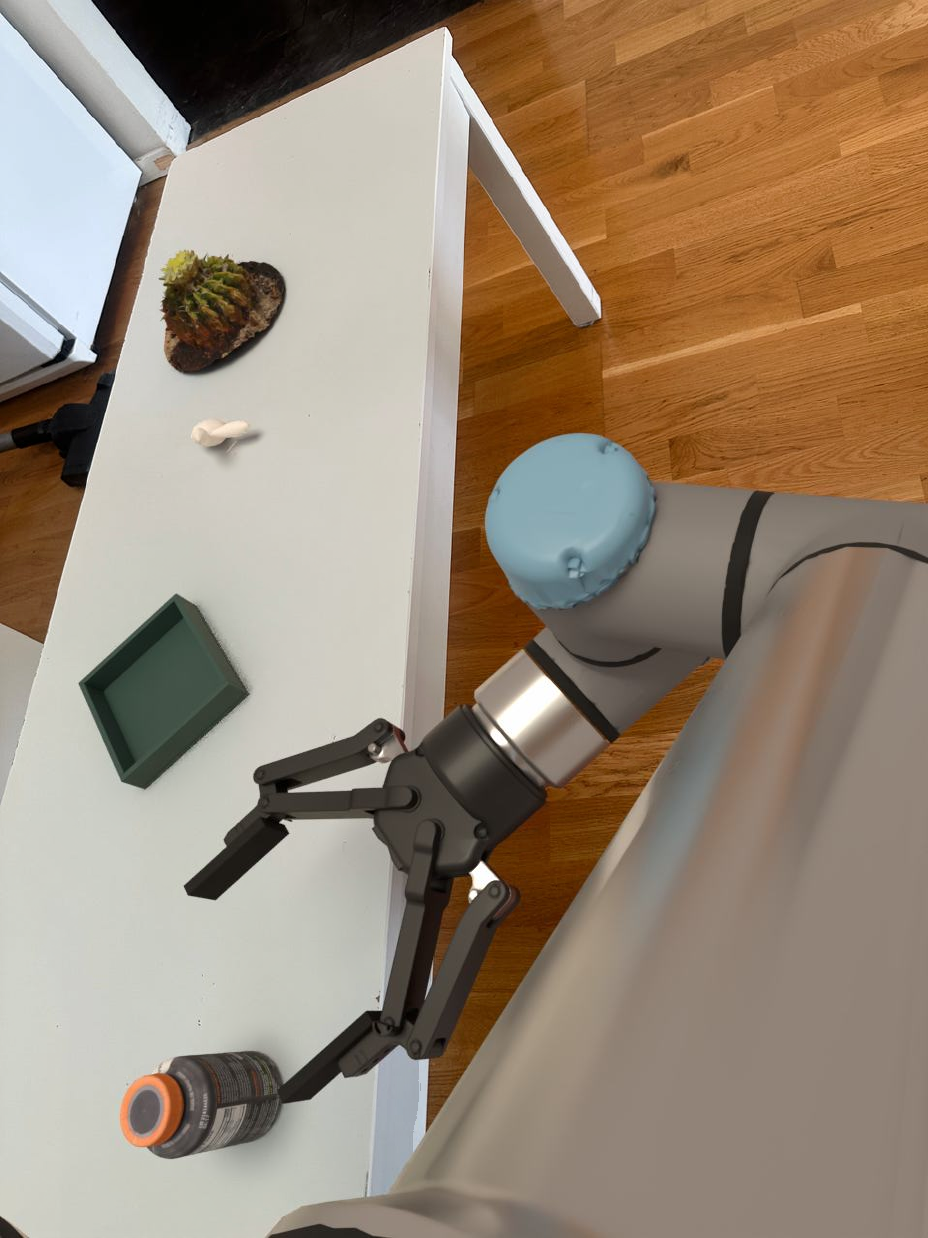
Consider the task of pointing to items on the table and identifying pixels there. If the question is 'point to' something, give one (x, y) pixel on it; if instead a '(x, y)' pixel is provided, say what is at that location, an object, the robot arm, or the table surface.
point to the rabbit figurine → (217, 431)
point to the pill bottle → (202, 1103)
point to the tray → (161, 691)
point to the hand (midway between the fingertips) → (242, 987)
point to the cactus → (215, 306)
